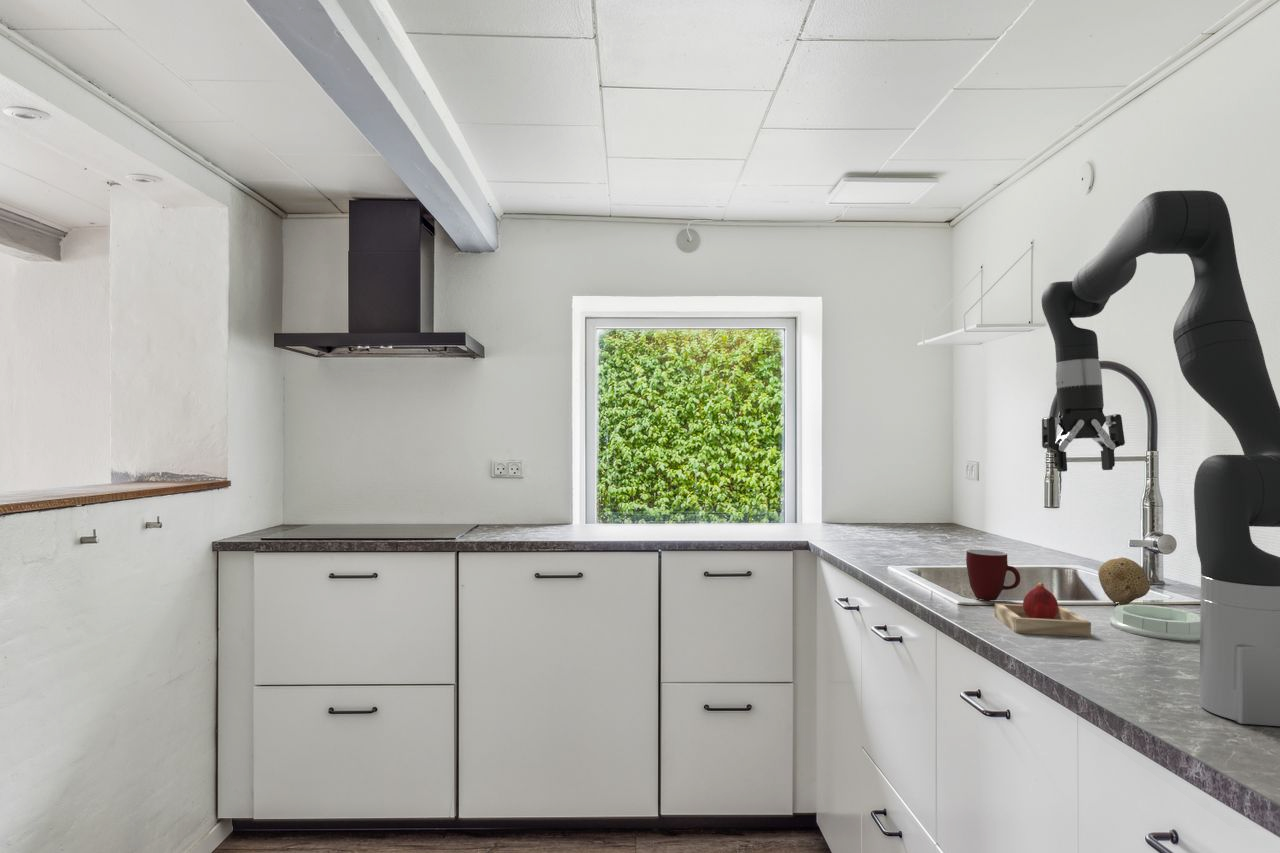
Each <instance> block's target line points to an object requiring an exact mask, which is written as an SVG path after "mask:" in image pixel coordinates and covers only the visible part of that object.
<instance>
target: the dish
mask: <svg viewBox="0 0 1280 853" xmlns="http://www.w3.org/2000/svg"><path fill="white" fill-rule="evenodd" d="M1113 613H1114V614H1113V615H1111V616H1110V618H1109V624H1110V626H1111V627H1113V628H1115V629H1117V630H1119V629H1120V631H1122V632H1126V633H1129V634H1133V635H1138V636H1143V637H1148V638H1154V639H1159V640H1160V639H1162V640H1169V641H1181V642H1182V641H1185V642H1186V641H1187V642H1191V641H1192V642H1194V641H1195V642H1196V641H1200V615H1199V614H1196V613H1194V612H1192V611H1187V610H1182V609H1178V608H1175V607H1174V608H1173V607H1165V606H1159V605H1153V604H1151V605H1150V604H1134V603H1133V604H1131V603H1129V604H1127V605H1116V606H1115V607H1114V609H1113Z"/></svg>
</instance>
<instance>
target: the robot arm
mask: <svg viewBox="0 0 1280 853" xmlns="http://www.w3.org/2000/svg"><path fill="white" fill-rule="evenodd" d="M1229 211H1230V210H1229V209H1228V206H1227V203H1226V202H1225V200H1224V198H1223V197H1222V196H1221V194H1219V193H1217V192H1215V191H1210V190H1197V189H1196V190H1194V189H1191V190H1189V189H1187V190H1162V191H1161V190H1159V191H1156V192H1152V193H1150V194H1149V195H1147V196H1145V197H1144V198H1143V199H1142V200H1141V201H1140V202H1138V203H1137V205H1136V206H1135V207H1134V208H1133V209H1132V211H1131V212H1130V214H1128V215H1127V217H1126V218H1125V220H1124V221H1123V223H1122V224H1121V225H1120V226H1119V228H1118V229H1117V230H1116V232H1115V233H1114V235H1113V236H1112V237H1111V239H1110V240H1109V241H1108V243H1107V244H1106V245H1105V247H1104V248H1103V249H1102V250H1101V251H1100V252H1099V253H1098V254H1097V255H1096V256H1094V257H1093V258H1092V259H1091V260H1089V262H1087V263H1086V264H1085V265H1083V266H1082V267H1081V268H1080V269H1079V270H1078V271H1077V272H1076V273H1075V275H1074V276H1073V278H1072V280H1070V281H1068V280H1067V281H1066V280H1065V281H1064V280H1063V281H1054V282H1052V283H1050V284H1049V285H1047V286H1046V287H1045V289H1044V290H1043V292H1042V296H1041V308H1042V312H1043V315H1044V317H1045V319H1046V321H1047V323H1048V327H1049V329H1050V333H1051V335H1052V338H1053V341H1054V348H1055V350H1054V351H1055V363H1056V366H1055V386H1056V400H1057V409H1058V413H1059V414H1058V417H1055V416H1045V417H1042V419H1041V447H1042V448H1043V449H1046V450H1050V451H1052V452H1053V464H1054V465H1053V466H1054V468H1055V469H1056V470H1057V472H1058V473H1061V472H1063V473H1064V472H1067V471H1068V460H1067V451H1065V450H1066V449H1067V447H1068V446H1069V444H1070V443H1071V442H1072V441H1074V439H1075V440H1076V439H1092V440H1093V442H1096V443H1097V445H1098V446H1100V448H1101V449H1102V450H1100V458H1101V460H1100V461H1101V469H1102V471H1113V469H1114V468H1113V467H1115V466H1116V465H1115V464H1116V462H1115V460H1116V459H1115V449H1116V448H1119V447H1122V446H1124V445H1125V444H1126V442H1125V441H1126V440H1125V434H1124V428H1123V427H1124V426H1123V419H1122V415H1121V414H1119V413H1118V414H1117V413H1114V414H1109V415H1105V414H1104V406H1105V405H1104V391H1103V378H1102V376H1103V374H1102V368H1101V364H1100V360H1099V356H1100V355H1099V344H1098V336H1097V332H1095V331H1094V330H1092V329H1088V328H1083V327H1079V326H1076V325H1075V324H1074V323H1073V321H1072V319H1080V318H1082V319H1083V318H1091V317H1094V316H1097V315H1099V314H1100V313H1102V312H1103V310H1104V308H1105V307H1106V305H1107V303H1108V302H1109V300H1110V298H1111V296H1113V295H1114V294H1116V293H1117V292H1119V291H1120V290H1122V289H1123V288H1124V287H1126V286H1127V285H1128V284H1129V282H1131V281H1132V279H1133V278H1134V276H1135V274H1136V271H1137V265H1138V264H1137V258H1138V257H1139V258H1140V256H1143V255H1146V254H1149V253H1150V254H1156V255H1187V256H1188V257H1189V258H1190V261H1191V264H1192V268H1193V274H1194V275H1193V276H1194V283H1193V287H1192V289H1191V292H1190V294H1189V296H1188V298H1187V300H1185V303H1184V305H1183V306H1182V308H1181V310H1180V312H1179V313H1178V316H1177V318H1176V319H1175V323H1174V325H1173V326H1174V327H1173V331H1172V332H1173V333H1172V338H1173V345H1174V348H1175V352H1176V356H1177V359H1178V364H1179V367H1180V371H1181V373H1182V375H1183V377H1184V380H1185V381H1186V383H1187V384H1188V385H1189V386H1190V387H1191V388H1192V389H1193V390H1194V392H1195V393H1197V394H1198V395H1199V396H1200V397H1201V399H1203V400H1204V401H1205V402H1206V403H1207V404H1208V405H1209V406H1210V407H1211V408H1213V409H1214V410H1215V412H1217V413H1218V415H1220V416H1221V417H1222V418H1223V419H1224V420H1225V422H1227V424H1228V425H1229V426H1230V427H1231V428H1230V429H1232V431H1233V432H1234V434H1235V436H1236V438H1237V440H1238V441H1239V443H1240V444H1239V445H1240V447H1241V449H1242V452H1243V454H1215V455H1211V456H1208V457H1206V459H1204V460H1202V462H1201V463H1200V465H1199V466H1198V468H1197V471H1196V474H1195V478H1194V487H1193V501H1194V502H1193V504H1194V506H1193V507H1194V520H1195V545H1196V551H1197V555H1198V558H1199V562H1200V613H1199V614H1200V640H1199V705H1200V706H1201V707H1202V709H1204V710H1206V711H1208V712H1210V713H1212V714H1214V715H1217V716H1220V717H1223V718H1227V719H1230V720H1233V721H1234V722H1236V723H1239V724H1243V725H1255V726H1257V725H1258V726H1275V727H1280V556H1277V555H1275V554H1272V553H1269V552H1266V551H1265V550H1263V549H1261V548H1260V547H1259V546H1257V545H1256V544H1255V543H1254V542H1253V540H1252V536H1251V530H1250V529H1251V527H1253V528H1254V527H1258V528H1260V527H1261V528H1267V527H1268V528H1280V405H1279V402H1278V398H1277V395H1276V392H1275V390H1274V387H1273V384H1272V381H1271V378H1270V375H1269V372H1268V369H1267V364H1266V360H1265V356H1264V351H1263V348H1262V345H1261V340H1260V337H1259V335H1258V331H1257V328H1256V324H1255V322H1254V319H1253V316H1252V313H1251V311H1250V308H1249V303H1248V301H1247V297H1246V294H1245V293H1246V292H1245V290H1244V285H1243V283H1242V282H1243V281H1242V278H1241V274H1240V270H1239V265H1238V259H1237V253H1236V252H1237V251H1236V246H1235V240H1234V233H1233V226H1232V221H1231V220H1232V219H1231V216H1230V212H1229ZM1104 424H1105V426H1107V427H1108V433H1109V434H1108V433H1107V431H1106V430H1105V429H1104V428H1103V427H1104ZM1058 425H1059V427H1060V428H1061V431H1060V432H1059V433H1058V435H1057V437H1056V429H1057V427H1058Z"/></svg>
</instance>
